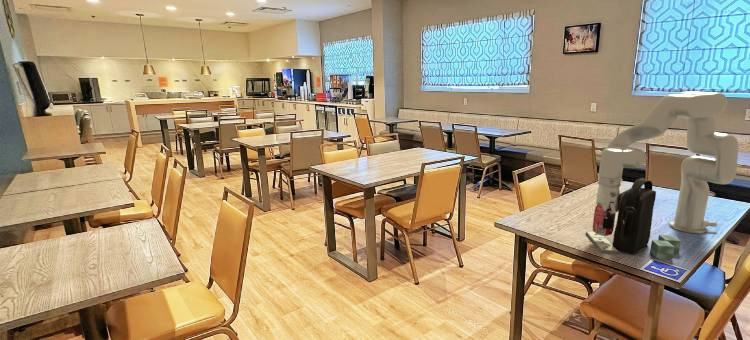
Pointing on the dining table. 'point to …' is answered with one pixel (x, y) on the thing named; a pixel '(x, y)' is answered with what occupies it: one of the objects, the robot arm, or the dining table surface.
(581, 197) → the dining table surface
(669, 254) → the sage green cube
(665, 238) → the pale green cube
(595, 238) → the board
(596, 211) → the soda can
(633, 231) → the shoulder bag
